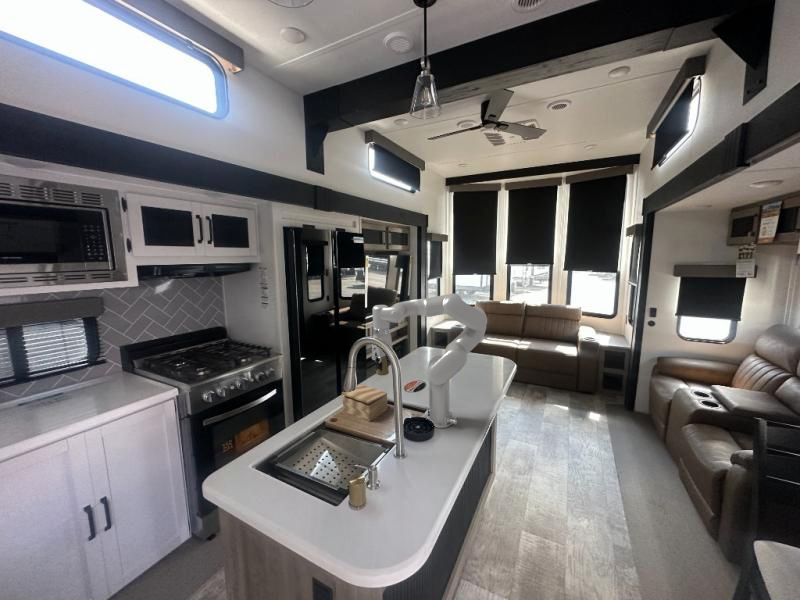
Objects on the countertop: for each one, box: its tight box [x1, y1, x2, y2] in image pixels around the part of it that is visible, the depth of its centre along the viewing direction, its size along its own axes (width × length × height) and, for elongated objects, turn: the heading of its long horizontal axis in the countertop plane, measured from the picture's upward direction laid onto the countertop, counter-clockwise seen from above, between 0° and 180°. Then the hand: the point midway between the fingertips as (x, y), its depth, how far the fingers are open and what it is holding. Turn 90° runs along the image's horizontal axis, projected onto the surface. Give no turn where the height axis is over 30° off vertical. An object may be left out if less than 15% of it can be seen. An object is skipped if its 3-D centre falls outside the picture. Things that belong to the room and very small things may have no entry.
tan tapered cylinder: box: [375, 356, 390, 376], centre depth 147 cm, size 6×6×11 cm
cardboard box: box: [342, 394, 389, 422], centre depth 159 cm, size 18×14×8 cm
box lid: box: [341, 384, 388, 404], centre depth 158 cm, size 18×14×1 cm
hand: (382, 368), depth 147 cm, fingers closed on tan tapered cylinder, 4 cm apart
